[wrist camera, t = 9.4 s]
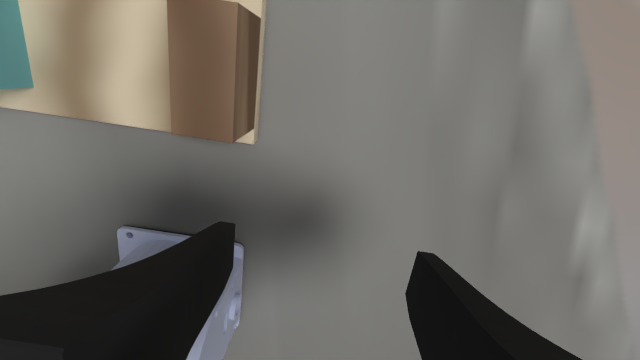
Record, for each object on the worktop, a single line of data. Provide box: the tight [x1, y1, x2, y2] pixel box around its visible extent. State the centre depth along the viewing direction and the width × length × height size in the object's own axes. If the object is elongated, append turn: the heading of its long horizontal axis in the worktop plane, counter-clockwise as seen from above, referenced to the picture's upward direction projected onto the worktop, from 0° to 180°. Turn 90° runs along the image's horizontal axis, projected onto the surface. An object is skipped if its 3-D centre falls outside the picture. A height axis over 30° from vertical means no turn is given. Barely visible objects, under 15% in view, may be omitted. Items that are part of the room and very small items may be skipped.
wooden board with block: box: [0, 0, 267, 144], centre depth 16 cm, size 20×8×5 cm, turn 82°
